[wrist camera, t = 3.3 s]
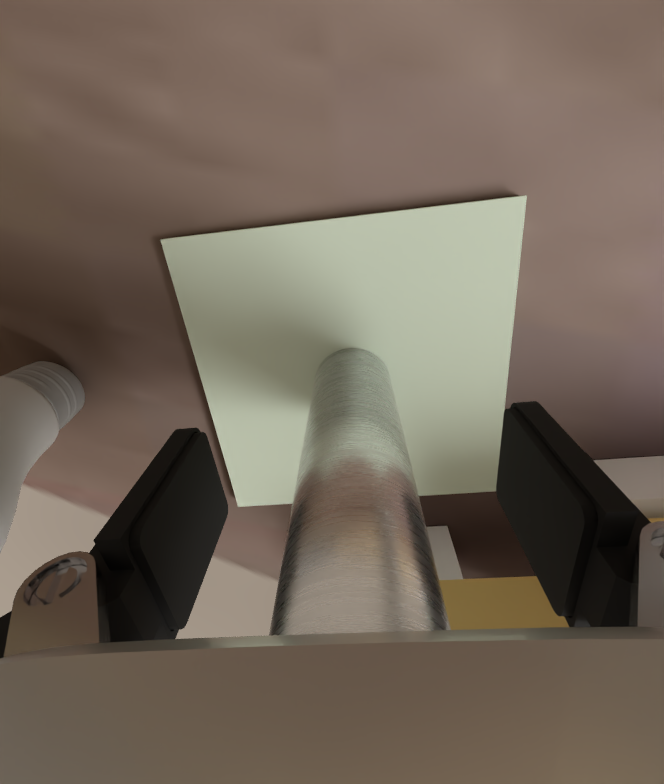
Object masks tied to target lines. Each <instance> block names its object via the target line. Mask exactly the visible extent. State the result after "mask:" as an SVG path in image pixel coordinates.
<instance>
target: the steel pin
mask: <svg viewBox="0 0 664 784" xmlns="http://www.w3.org/2000/svg"><path fill="white" fill-rule="evenodd" d="M433 630H451V628H450V624H449V619H448V615H447V611H446V607H445V603H444V599H443V595H442V590H441V586H440V582H439V578H438V574H437V570H436V565H435V561H434V557H433V553H432V549H431V545H430V540H429V536H428V532H427V528H426V524H425V520H424V516H423V511H422V507H421V503H420V499H419V495H418V491H417V486H416V482H415V478H414V474H413V470H412V466H411V462H410V457H409V453H408V449H407V445H406V441H405V437H404V432H403V428H402V424H401V420H400V416H399V412H398V407H397V403H396V399H395V395H394V391H393V387H392V383H391V378H390V374H389V371H388V369H387V367H386V365H385V364H384V362H383V361H382V360H381V359H380V358H379V357H378V356H376V355H375V354H373V353H371V352H369V351H367V350H364V349H359V348H347V349H342V350H339V351H336V352H334V353H332V354H331V355H329V356H328V357H327V358H325V359H324V360H323V361H322V363H321V364H320V366H319V367H318V369H317V372H316V375H315V380H314V386H313V391H312V397H311V403H310V408H309V414H308V419H307V425H306V431H305V436H304V442H303V448H302V453H301V459H300V464H299V470H298V476H297V481H296V487H295V492H294V498H293V504H292V509H291V515H290V520H289V526H288V532H287V537H286V543H285V549H284V554H283V560H282V565H281V571H280V577H279V582H278V588H277V593H276V599H275V605H274V611H273V617H272V622H271V627H270V633H269V636H273V635H303V634H334V633H366V632H398V631H433Z"/></svg>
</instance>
